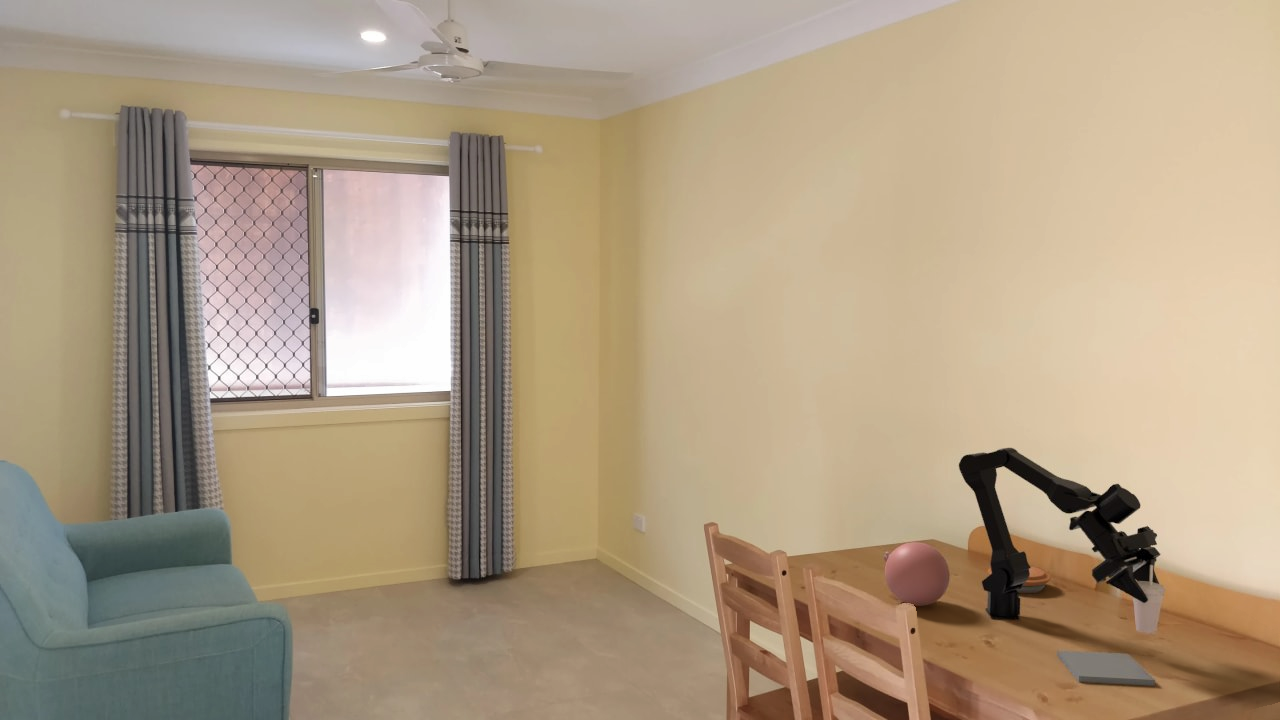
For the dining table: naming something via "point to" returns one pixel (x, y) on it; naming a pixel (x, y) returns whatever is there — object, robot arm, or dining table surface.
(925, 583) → the balloon
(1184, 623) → the dining table surface
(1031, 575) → the pie
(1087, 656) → the slate trivet
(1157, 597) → the smoothie
